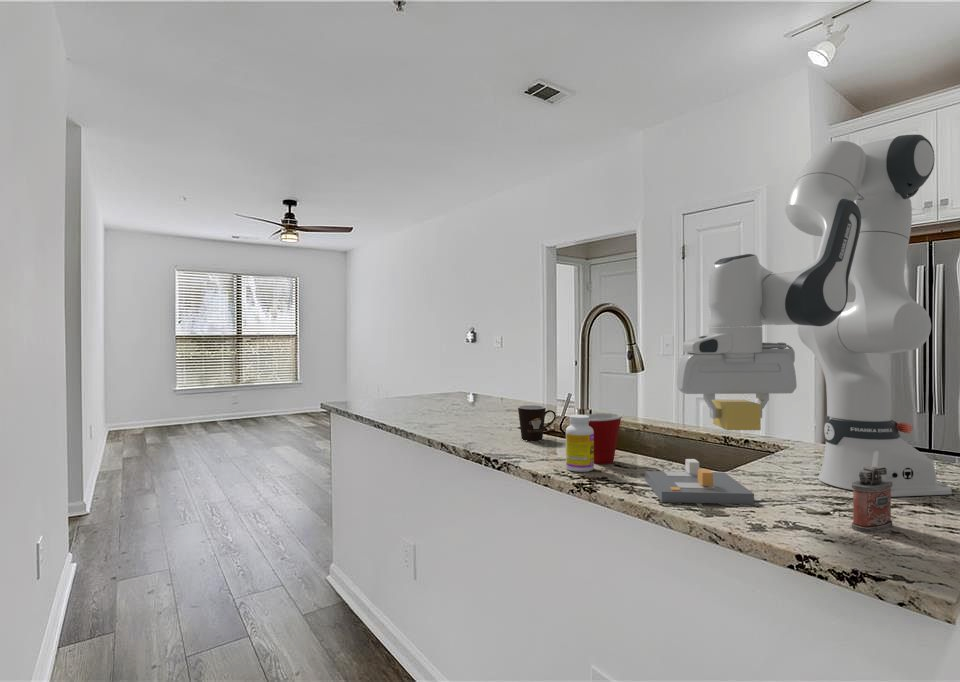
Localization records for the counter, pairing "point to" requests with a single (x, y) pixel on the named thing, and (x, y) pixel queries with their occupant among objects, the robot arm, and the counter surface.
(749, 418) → the yellow block
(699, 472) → the block
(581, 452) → the supplement bottle
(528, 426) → the coffee mug
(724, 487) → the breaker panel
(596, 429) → the plastic cup
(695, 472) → the toggle white
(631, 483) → the counter surface
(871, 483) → the lighter
